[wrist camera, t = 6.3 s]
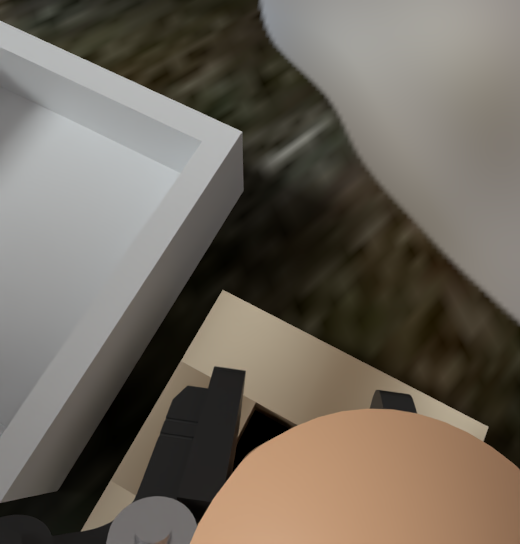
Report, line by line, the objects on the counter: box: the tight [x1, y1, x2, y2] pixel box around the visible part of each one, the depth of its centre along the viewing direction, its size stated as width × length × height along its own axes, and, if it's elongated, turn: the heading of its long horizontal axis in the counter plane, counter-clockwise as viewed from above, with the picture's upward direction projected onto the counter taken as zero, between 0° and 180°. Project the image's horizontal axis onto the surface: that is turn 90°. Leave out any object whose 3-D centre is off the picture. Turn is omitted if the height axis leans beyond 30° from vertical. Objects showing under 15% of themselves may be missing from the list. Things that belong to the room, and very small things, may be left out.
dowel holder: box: [81, 290, 488, 531], centre depth 15 cm, size 9×9×3 cm
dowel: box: [190, 409, 520, 544], centre depth 10 cm, size 3×3×14 cm
